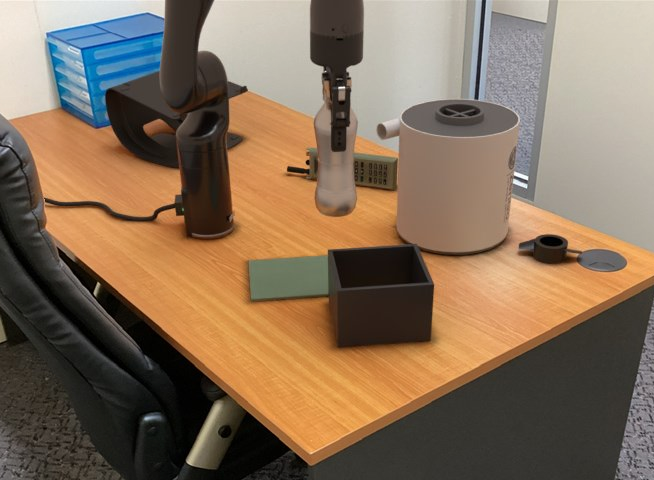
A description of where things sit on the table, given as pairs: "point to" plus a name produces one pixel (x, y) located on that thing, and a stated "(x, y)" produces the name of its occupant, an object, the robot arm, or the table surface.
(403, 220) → the humidifier
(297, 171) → the handheld radio
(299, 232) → the table surface
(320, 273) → the mat
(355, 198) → the plastic bottle
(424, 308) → the tote
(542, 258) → the black tabbed ring
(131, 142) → the laptop stand
